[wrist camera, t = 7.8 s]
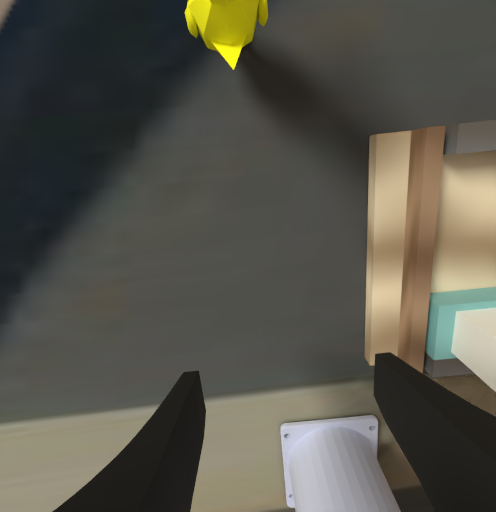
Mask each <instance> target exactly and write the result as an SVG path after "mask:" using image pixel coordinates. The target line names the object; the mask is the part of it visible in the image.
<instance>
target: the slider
mask: <svg viewBox="0 0 496 512" xmlns="http://www.w3.org/2000/svg"><path fill="white" fill-rule="evenodd" d="M425 352H426V353H427V354H428V355H429V356H430V357H431V358H432V359H433V360H442V359H452V358H458V359H459V360H460V361H461V362H463V363H464V364H465V365H466V366H467V367H468V368H469V369H470V370H472V371H473V372H474V373H475V374H476V375H477V376H478V377H479V378H480V379H482V380H483V381H484V382H485V383H486V384H487V385H488V386H489V387H490V388H492V389H493V390H494V391H496V287H488V288H478V289H468V290H458V291H448V292H438V293H430V299H429V310H428V321H427V332H426V342H425Z"/></svg>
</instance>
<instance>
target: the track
mask: <svg viewBox="0 0 496 512" xmlns="http://www.w3.org/2000/svg"><path fill="white" fill-rule="evenodd" d="M488 287H496V120H490V121H481V122H471V123H462V124H455V125H450V126H436V127H427V128H422V129H417V130H412V131H403V132H394V133H384V134H376V135H371V136H370V139H369V185H368V231H367V277H366V322H365V358H366V360H367V361H368V363H369V365H375V354H377V353H387V352H391V353H392V354H394V355H395V356H397V357H398V358H400V359H401V360H403V361H404V362H406V363H407V364H409V365H410V366H412V367H413V368H415V369H416V370H418V371H419V372H421V373H422V374H423V368H424V369H425V370H426V371H427V372H428V373H429V375H430V376H431V377H432V378H435V377H445V376H456V375H466V374H475V373H474V372H473V371H472V370H470V369H469V368H468V367H467V366H466V365H465V364H464V363H463V362H461V361H460V360H459V359H458V358H452V359H442V360H433V359H432V358H431V357H430V356H429V355H428V354H427V353H426V352H425V342H426V332H427V321H428V310H429V299H430V293H438V292H448V291H458V290H468V289H478V288H488Z"/></svg>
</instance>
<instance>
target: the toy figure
mask: <svg viewBox="0 0 496 512" xmlns="http://www.w3.org/2000/svg"><path fill="white" fill-rule="evenodd" d="M185 16H186V20H187V25H188V29H189V31H190V33H191V34H192V35H193V36H194V37H196V38H197V36H198V31H199V33H200V35H201V37H202V39H203V40H204V42H205V44H206V46H207V48H209V49H212V50H216V51H219V52H220V53H221V55H222V56H223V57H224V58H225V60H226V61H227V62H228V63H229V65H230V66H231V67H232V68H233V70H234V68H235V65H236V62H237V60H238V57H239V54H240V52H241V49H242V47H244V46H245V45H247V44H248V43H250V42H251V41H252V39H253V35H254V30H255V25H256V21H257V16H258V20H259V23H260V24H261V25H262V26H263V27H264V26H265V24H266V21H267V19H268V7H267V0H189V1H188V3H187V9H186V11H185Z"/></svg>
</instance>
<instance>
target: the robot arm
mask: <svg viewBox="0 0 496 512" xmlns="http://www.w3.org/2000/svg"><path fill="white" fill-rule="evenodd" d="M374 397H375V399H376V402H377V404H378V406H379V409H380V411H381V413H382V415H383V418H384V420H385V422H386V423H387V425H388V427H389V429H390V430H391V432H392V434H393V436H394V437H395V439H396V441H397V442H398V444H399V446H400V448H401V449H402V451H403V453H404V454H405V456H406V458H407V460H408V461H409V463H410V465H411V466H412V468H413V470H414V471H415V473H416V475H417V477H418V478H419V480H420V482H421V484H422V486H423V487H424V489H425V491H426V493H427V495H428V497H429V499H430V501H431V503H432V505H433V508H434V510H435V512H496V417H495V416H493V415H491V414H489V413H487V412H485V411H483V410H482V409H480V408H478V407H476V406H474V405H472V404H471V403H469V402H467V401H466V400H464V399H462V398H460V397H459V396H457V395H455V394H454V393H452V392H450V391H449V390H447V389H446V388H444V387H442V386H441V385H439V384H438V383H436V382H434V381H433V380H431V379H430V378H428V377H427V376H425V375H424V374H422V373H421V372H419V371H418V370H416V369H415V368H413V367H412V366H410V365H409V364H407V363H406V362H404V361H403V360H401V359H400V358H398V357H397V356H395V355H394V354H392V353H391V352H387V353H377V354H375V370H374ZM205 416H206V409H205V403H204V398H203V392H202V387H201V381H200V375H199V371H192V372H184V373H183V374H182V375H181V377H180V378H179V379H178V381H177V382H176V384H175V385H174V387H173V388H172V390H171V391H170V392H169V394H168V395H167V397H166V398H165V399H164V401H163V402H162V403H161V405H160V406H159V407H158V409H157V410H156V411H155V413H154V414H153V415H152V417H151V418H150V419H149V420H148V422H147V423H146V424H145V425H144V426H143V428H142V429H141V430H140V431H139V432H138V434H137V435H136V436H135V437H134V438H133V439H132V440H131V442H130V443H129V444H128V445H127V446H126V447H125V448H124V449H123V450H122V451H121V452H120V453H119V454H118V455H117V456H116V457H115V458H114V459H113V460H112V461H111V462H110V463H109V464H108V465H107V466H106V467H105V468H104V469H103V470H102V471H100V472H99V473H98V474H97V475H96V476H95V477H94V478H93V479H92V480H91V481H90V482H88V483H87V484H86V485H85V486H84V487H83V488H81V489H80V490H79V491H78V492H77V493H76V494H74V495H73V496H72V497H71V498H69V499H68V500H67V501H66V502H64V503H63V504H62V505H61V506H59V507H58V508H57V509H56V510H54V511H53V512H190V509H191V503H192V497H193V492H194V487H195V481H196V476H197V471H198V466H199V460H200V455H201V450H202V444H203V439H204V429H205ZM370 426H371V427H370ZM280 431H281V442H282V454H283V466H284V477H285V489H286V500H287V505H288V506H289V507H291V508H294V507H295V510H296V512H401V511H400V509H399V506H398V504H397V502H396V500H395V498H394V496H393V493H392V491H391V489H390V487H389V485H388V482H387V480H386V478H385V476H384V474H383V472H382V469H381V467H380V465H379V463H378V461H377V441H378V420H377V418H376V417H375V416H374V415H366V416H356V417H345V418H335V419H324V420H314V421H303V422H293V423H284V424H283V425H281V427H280Z"/></svg>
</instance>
